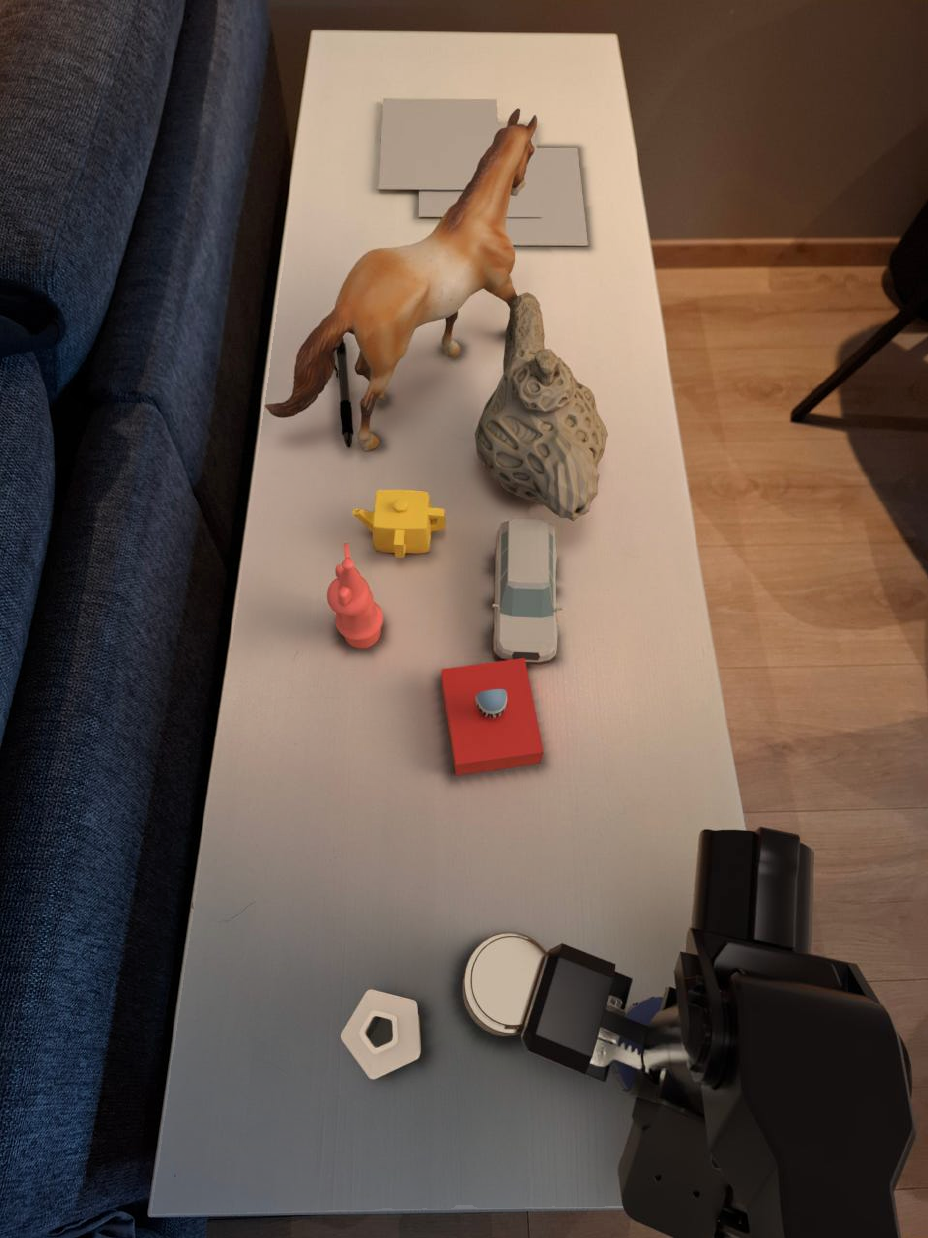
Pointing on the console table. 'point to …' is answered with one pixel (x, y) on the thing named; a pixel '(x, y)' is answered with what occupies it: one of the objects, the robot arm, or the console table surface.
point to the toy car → (525, 592)
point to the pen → (344, 394)
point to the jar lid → (642, 1015)
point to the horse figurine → (420, 282)
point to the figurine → (354, 605)
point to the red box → (491, 716)
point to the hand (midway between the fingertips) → (657, 1055)
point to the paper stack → (448, 157)
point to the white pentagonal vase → (383, 1033)
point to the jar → (502, 982)
